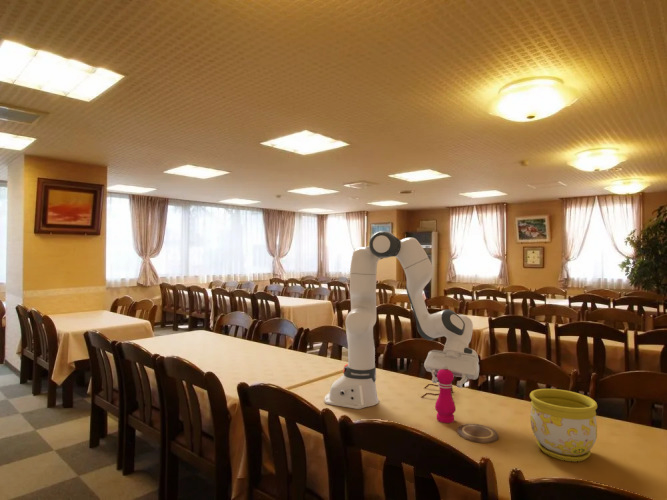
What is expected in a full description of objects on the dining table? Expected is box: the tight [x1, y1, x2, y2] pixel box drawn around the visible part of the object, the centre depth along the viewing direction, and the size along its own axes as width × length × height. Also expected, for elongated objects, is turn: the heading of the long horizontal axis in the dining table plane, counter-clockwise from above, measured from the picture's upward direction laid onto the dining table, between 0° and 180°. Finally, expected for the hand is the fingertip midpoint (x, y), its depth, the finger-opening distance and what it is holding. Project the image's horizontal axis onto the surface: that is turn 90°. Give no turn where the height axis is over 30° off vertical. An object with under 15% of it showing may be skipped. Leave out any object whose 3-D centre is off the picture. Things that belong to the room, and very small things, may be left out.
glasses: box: [420, 383, 454, 398], centre depth 175 cm, size 13×13×5 cm
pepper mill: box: [434, 365, 456, 424], centre depth 147 cm, size 7×7×20 cm
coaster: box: [456, 423, 499, 444], centre depth 135 cm, size 13×13×1 cm
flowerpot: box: [529, 388, 598, 463], centre depth 123 cm, size 18×18×16 cm
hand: (446, 384), depth 148 cm, fingers open, 8 cm apart
